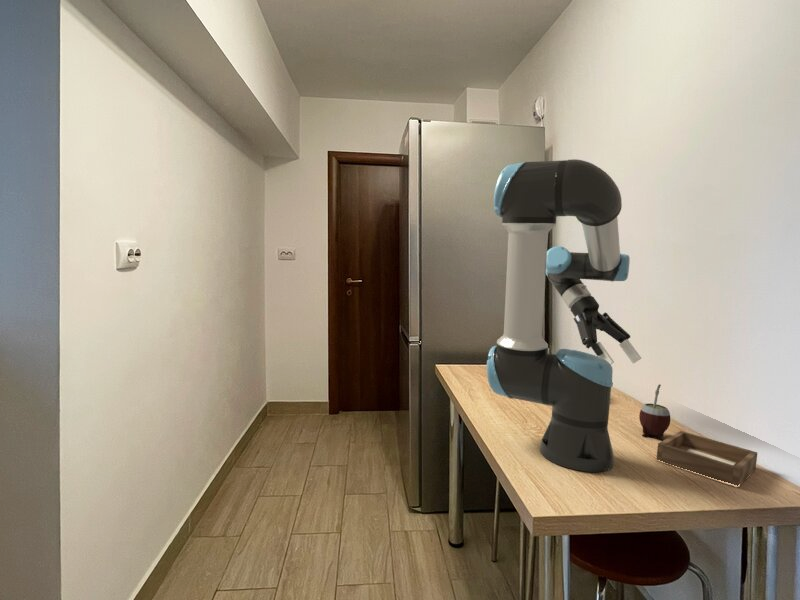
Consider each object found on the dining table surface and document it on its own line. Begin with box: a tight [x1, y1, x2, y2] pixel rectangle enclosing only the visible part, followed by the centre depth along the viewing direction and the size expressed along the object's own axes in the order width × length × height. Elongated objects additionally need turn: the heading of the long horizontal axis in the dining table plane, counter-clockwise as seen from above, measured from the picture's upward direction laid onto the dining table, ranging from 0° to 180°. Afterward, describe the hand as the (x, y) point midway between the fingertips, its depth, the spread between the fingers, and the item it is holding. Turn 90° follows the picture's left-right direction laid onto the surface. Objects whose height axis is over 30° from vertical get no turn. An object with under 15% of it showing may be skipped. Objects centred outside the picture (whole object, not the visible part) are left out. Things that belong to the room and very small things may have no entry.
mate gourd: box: [638, 383, 671, 442], centre depth 115 cm, size 8×8×15 cm
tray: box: [655, 430, 758, 486], centre depth 99 cm, size 15×15×4 cm
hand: (624, 362), depth 122 cm, fingers open, 13 cm apart
